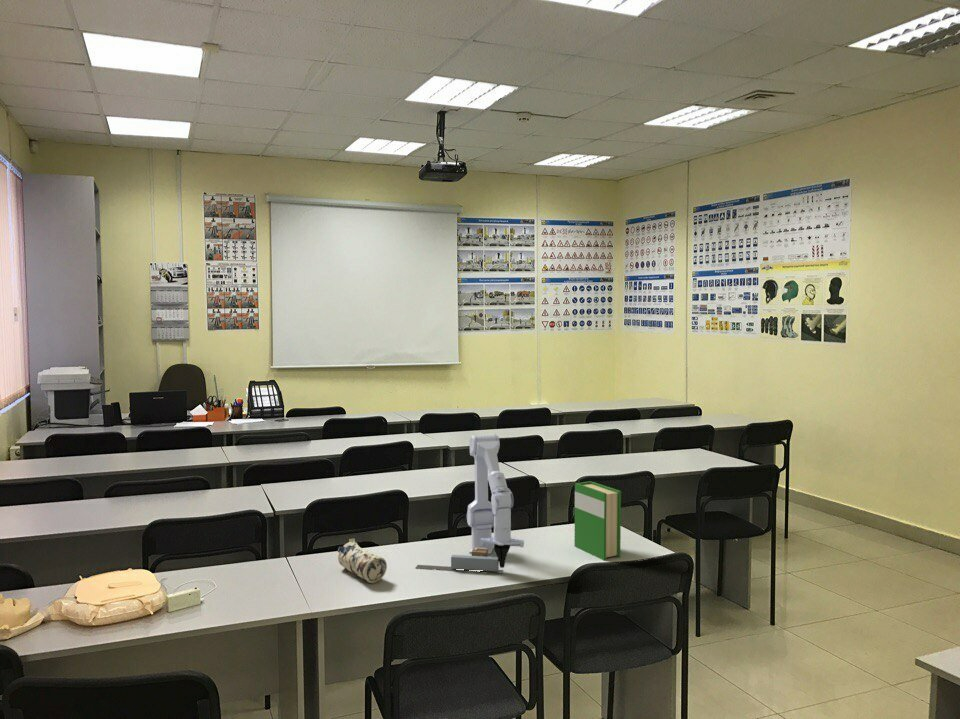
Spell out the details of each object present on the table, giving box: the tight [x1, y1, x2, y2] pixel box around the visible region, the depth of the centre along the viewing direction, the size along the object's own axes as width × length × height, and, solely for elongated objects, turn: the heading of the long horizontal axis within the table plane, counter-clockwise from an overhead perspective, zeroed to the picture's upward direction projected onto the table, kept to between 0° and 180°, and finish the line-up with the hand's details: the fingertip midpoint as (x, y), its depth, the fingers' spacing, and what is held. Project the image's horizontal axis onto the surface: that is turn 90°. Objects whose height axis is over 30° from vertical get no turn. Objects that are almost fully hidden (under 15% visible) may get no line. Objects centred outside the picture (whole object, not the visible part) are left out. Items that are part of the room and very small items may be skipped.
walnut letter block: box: [471, 547, 489, 557], centre depth 252 cm, size 5×5×5 cm
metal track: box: [415, 564, 504, 575], centre depth 246 cm, size 3×30×1 cm, turn 80°
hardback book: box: [574, 480, 622, 561], centre depth 264 cm, size 18×7×24 cm, turn 28°
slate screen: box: [450, 554, 500, 571], centre depth 245 cm, size 2×16×4 cm, turn 80°
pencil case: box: [337, 538, 388, 584], centre depth 241 cm, size 22×8×10 cm, turn 37°
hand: (502, 566), depth 243 cm, fingers closed
